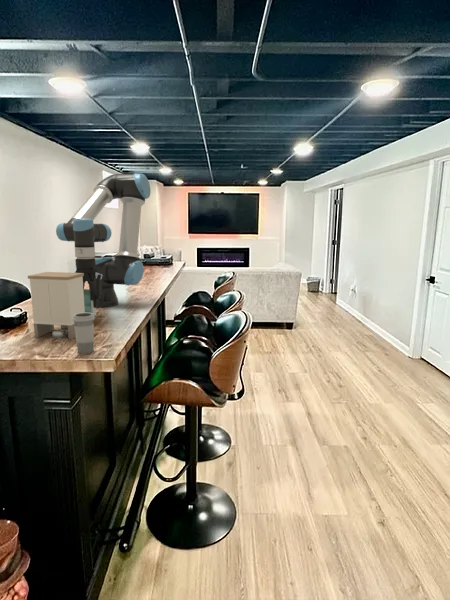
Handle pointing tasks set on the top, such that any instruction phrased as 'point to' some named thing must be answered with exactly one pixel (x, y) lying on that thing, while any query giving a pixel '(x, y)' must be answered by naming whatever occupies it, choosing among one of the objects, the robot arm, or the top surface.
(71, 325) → the cupboard
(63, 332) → the steel puck
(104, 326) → the top surface
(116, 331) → the top surface
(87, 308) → the teal mallet
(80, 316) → the cup
